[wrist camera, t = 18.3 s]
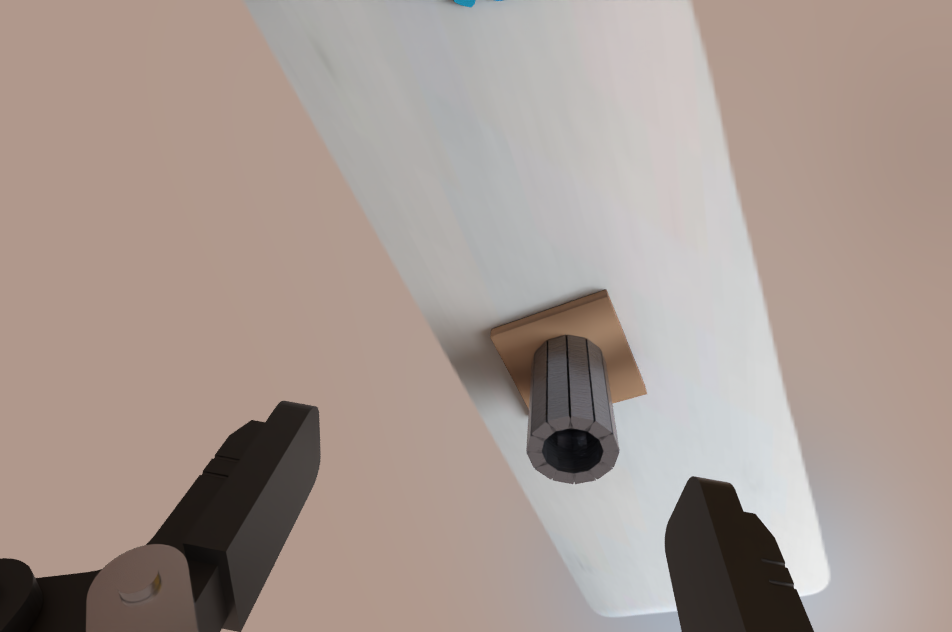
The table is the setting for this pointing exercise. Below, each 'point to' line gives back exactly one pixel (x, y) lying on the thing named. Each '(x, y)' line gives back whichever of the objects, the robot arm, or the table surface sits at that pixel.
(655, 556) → the table surface
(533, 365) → the sleeve
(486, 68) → the table surface
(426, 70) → the table surface
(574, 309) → the base plate
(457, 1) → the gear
